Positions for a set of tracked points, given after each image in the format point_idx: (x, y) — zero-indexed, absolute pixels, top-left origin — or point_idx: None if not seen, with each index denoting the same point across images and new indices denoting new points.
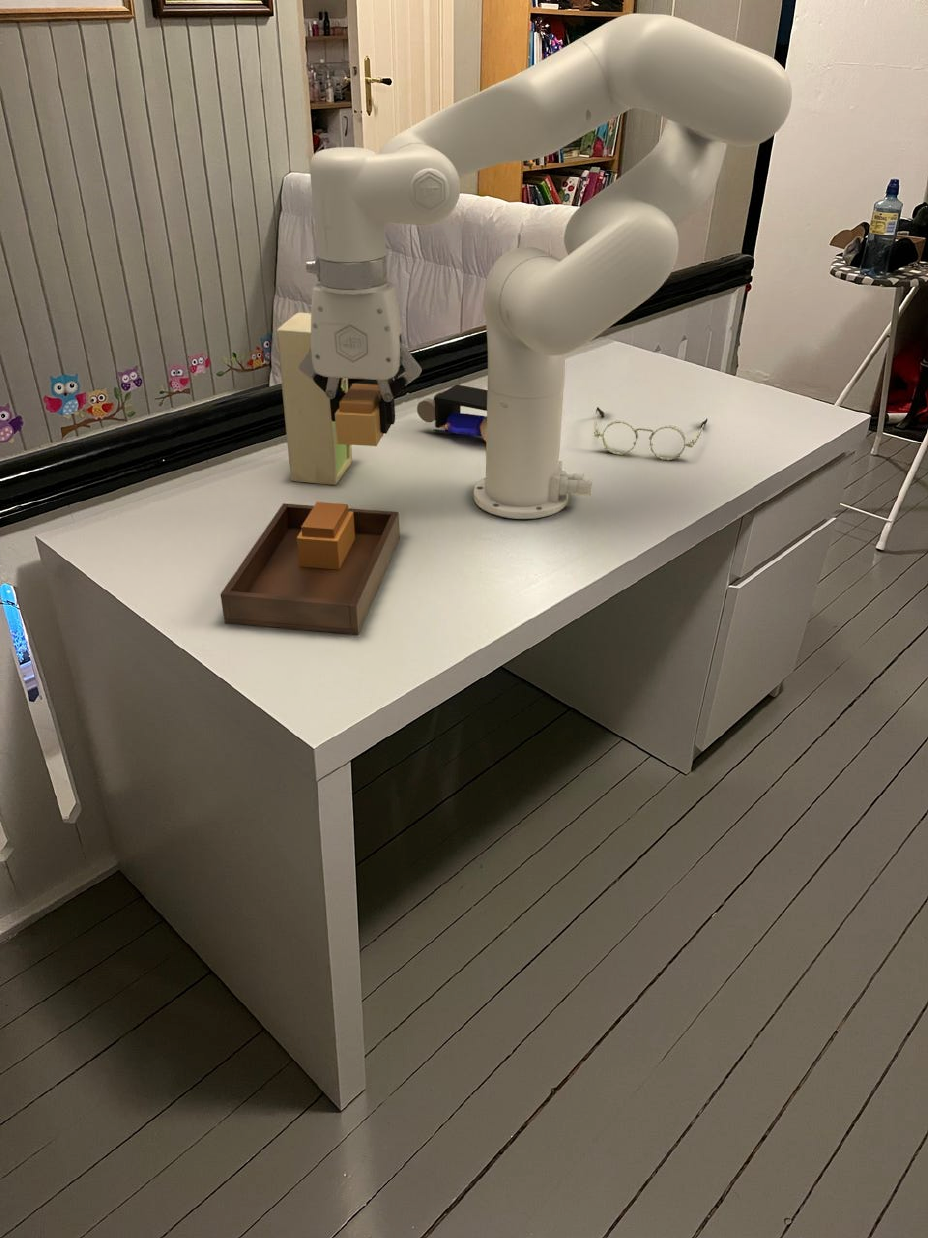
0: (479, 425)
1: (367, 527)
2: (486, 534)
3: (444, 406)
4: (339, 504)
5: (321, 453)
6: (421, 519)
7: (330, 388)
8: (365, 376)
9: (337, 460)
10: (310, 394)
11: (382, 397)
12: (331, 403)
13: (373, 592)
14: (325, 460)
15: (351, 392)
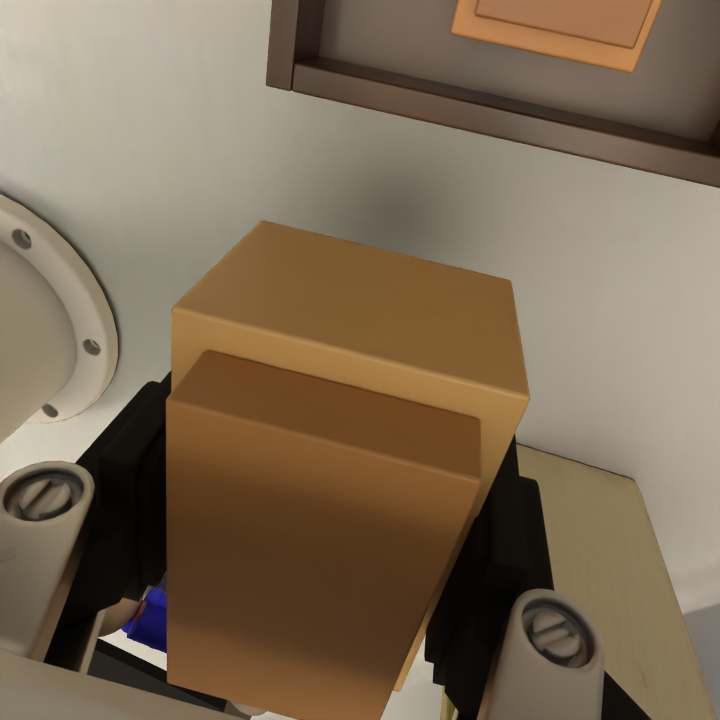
0: (142, 612)
1: (404, 78)
2: (32, 91)
3: None
4: (517, 6)
5: (549, 522)
6: (242, 210)
7: (560, 682)
8: (39, 705)
9: None
10: None
11: (111, 516)
12: (541, 569)
13: None
14: None
15: (372, 634)
